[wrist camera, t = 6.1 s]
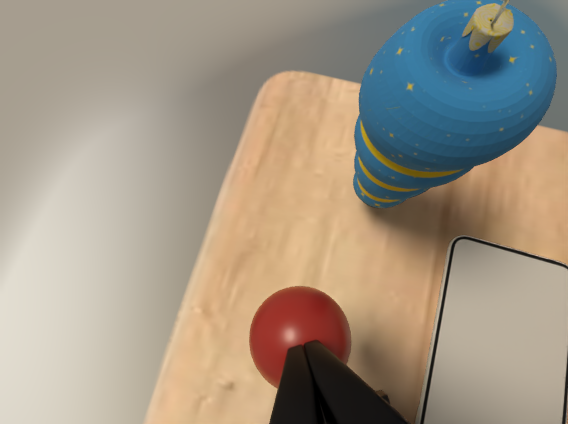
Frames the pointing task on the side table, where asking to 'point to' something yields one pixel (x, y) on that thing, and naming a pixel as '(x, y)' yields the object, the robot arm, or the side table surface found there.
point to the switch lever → (296, 328)
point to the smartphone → (497, 339)
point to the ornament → (449, 97)
